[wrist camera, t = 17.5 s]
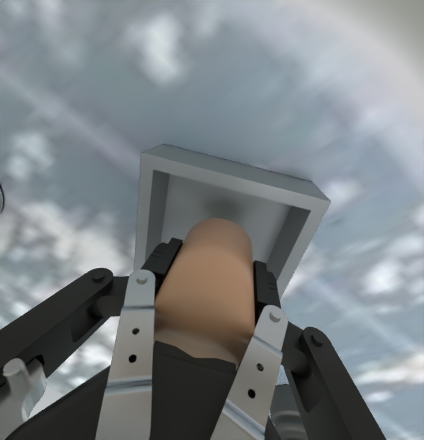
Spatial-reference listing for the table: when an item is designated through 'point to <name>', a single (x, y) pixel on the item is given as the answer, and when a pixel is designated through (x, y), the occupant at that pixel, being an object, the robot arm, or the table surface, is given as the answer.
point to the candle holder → (286, 414)
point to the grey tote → (226, 206)
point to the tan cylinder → (209, 293)
